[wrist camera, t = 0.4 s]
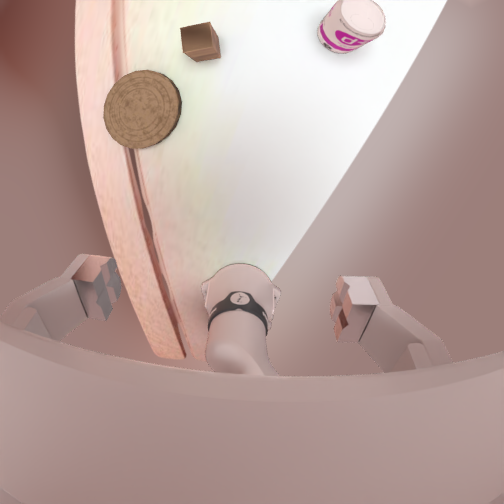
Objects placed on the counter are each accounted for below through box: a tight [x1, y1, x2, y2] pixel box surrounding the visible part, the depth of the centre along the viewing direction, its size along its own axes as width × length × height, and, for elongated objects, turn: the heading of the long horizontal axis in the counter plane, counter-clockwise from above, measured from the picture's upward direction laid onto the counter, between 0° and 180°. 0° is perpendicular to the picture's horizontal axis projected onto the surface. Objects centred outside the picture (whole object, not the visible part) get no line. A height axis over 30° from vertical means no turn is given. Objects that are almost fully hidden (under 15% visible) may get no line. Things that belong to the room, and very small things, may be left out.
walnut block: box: [180, 22, 221, 62], centre depth 37 cm, size 5×5×10 cm
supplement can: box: [317, 0, 386, 53], centre depth 32 cm, size 8×8×15 cm
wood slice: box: [104, 70, 182, 149], centre depth 46 cm, size 16×16×3 cm
